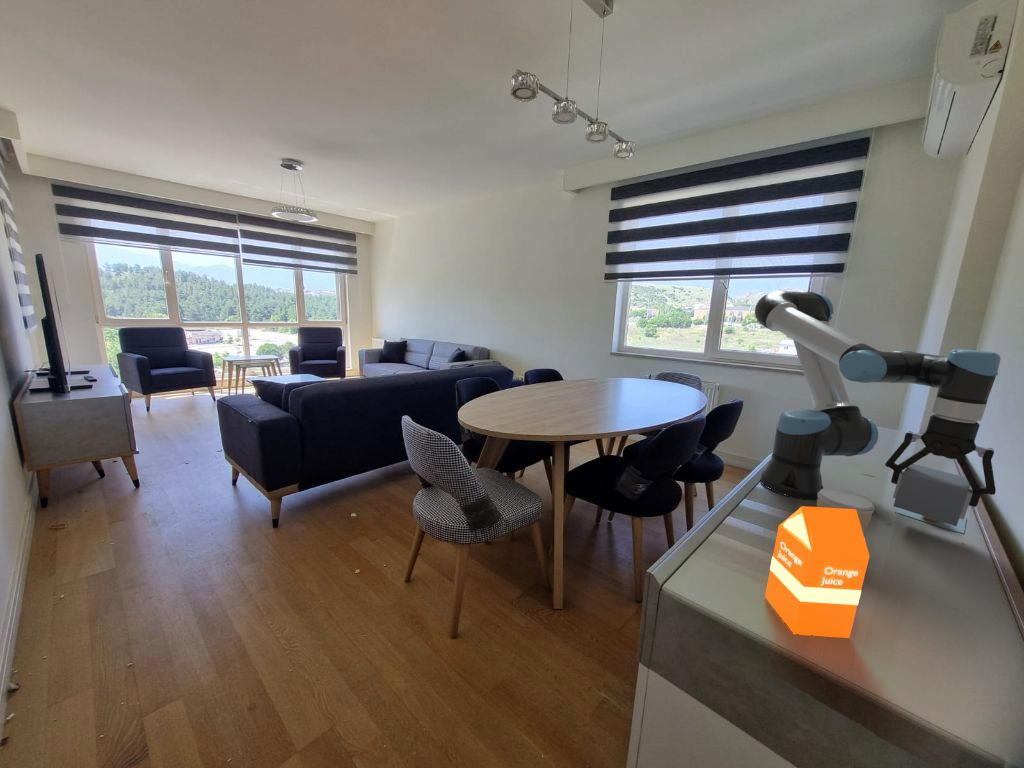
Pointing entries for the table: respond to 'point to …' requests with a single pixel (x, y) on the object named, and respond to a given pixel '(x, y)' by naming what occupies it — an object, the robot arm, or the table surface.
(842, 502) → the coffee cup
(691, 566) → the table surface
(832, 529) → the orange juice
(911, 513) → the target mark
